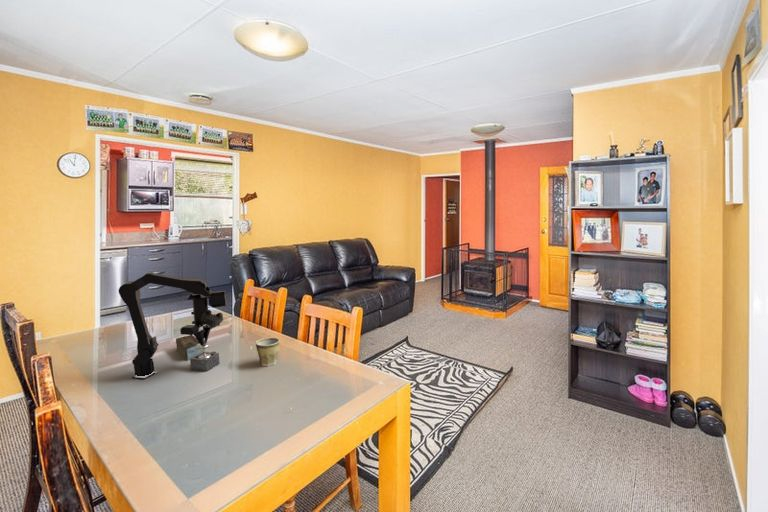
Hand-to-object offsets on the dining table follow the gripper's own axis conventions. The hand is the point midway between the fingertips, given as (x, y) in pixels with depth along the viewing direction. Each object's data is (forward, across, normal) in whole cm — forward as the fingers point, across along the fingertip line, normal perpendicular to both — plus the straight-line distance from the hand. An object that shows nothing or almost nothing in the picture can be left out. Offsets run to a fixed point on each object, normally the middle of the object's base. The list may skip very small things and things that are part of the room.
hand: (203, 344), depth 166 cm
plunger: (+6, 0, 0) cm, 6 cm away
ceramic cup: (+10, +11, -25) cm, 29 cm away
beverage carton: (+11, +12, +19) cm, 25 cm away
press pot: (+10, +1, 0) cm, 10 cm away
